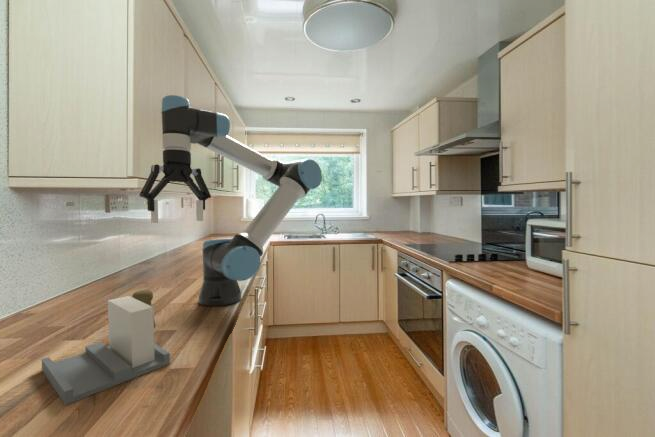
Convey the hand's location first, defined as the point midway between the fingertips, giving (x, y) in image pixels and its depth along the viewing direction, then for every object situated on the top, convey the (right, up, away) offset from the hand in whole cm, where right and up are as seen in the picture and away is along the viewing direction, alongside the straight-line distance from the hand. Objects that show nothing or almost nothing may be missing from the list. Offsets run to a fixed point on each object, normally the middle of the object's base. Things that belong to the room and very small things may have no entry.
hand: (178, 221), depth 93 cm
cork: (-9, -31, -3) cm, 32 cm away
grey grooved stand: (-4, -32, -25) cm, 41 cm away
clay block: (-1, -31, -21) cm, 37 cm away
